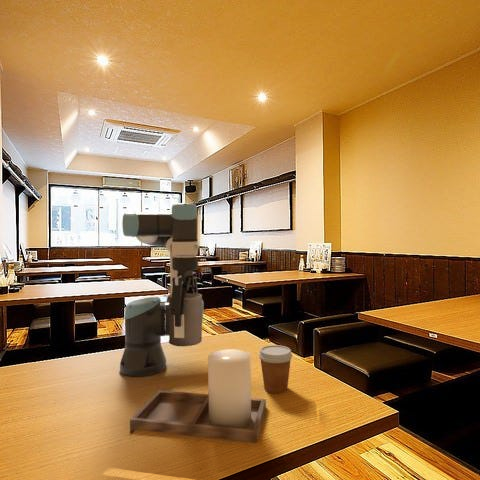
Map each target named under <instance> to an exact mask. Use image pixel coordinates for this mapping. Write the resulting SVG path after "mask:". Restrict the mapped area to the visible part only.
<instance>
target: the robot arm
mask: <svg viewBox="0 0 480 480" xmlns="http://www.w3.org/2000/svg"><path fill="white" fill-rule="evenodd" d="M198 218H199V214H198V206H197V205H196V204H195V203H186V202H182V203H181V202H179V203H173V204H172V206H171V212H136V211H133V212H125V213H124V214H123V215H122V223H121V224H122V225H121V226H122V227H121V228H122V233H123V236H125V237H132V238H136V239H137V240H138V241H139V242H140V243H143V244H145V245H149V246H152V247H153V246H154V247H166V248H165V249H166V250H167V251H168V253H169V267H170V268H169V270H170V271H169V274H170V275H169V277H170V278H169V279H170V294H168V296H167V297H166V300H164V301H161V298H160V297H158V296H155V297H154V296H152V297H144V298H140V299H136V300H133V301H130V302H128V303H127V304H126V306H125V309H124V316H123V317H124V328H125V329H124V339H125V340H124V349H123V352H122V357H121V359H120V362H119V363H120V364H119V372H120V373H121V374H122V375H124V376H126V377H127V376H128V377H146V376H150V375H151V376H152V375H155V374H157V373H161V371H163V370H165V369H166V367H167V357H166V355H165V352H164V350H163V346H162V339H161V337H169V296H170V295H171V294H172V299H171V309H170V314H171V315H174V338H184V314H183V308H184V298H185V297H186V293H198V294H199V290H198V289H199V288H198V280H197V279H198V276H197V275H198V273H197V272H194V271H196V270H198V268H199V258H198V257H197V255H198V253H199V248H200V245H199V244H198V243H199V241H198V240H199V239H198V226H199V225H198ZM204 304H205V303H204V300H203V299H202V323H203V320H204V309H205V307H204V306H205V305H204Z"/></svg>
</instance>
